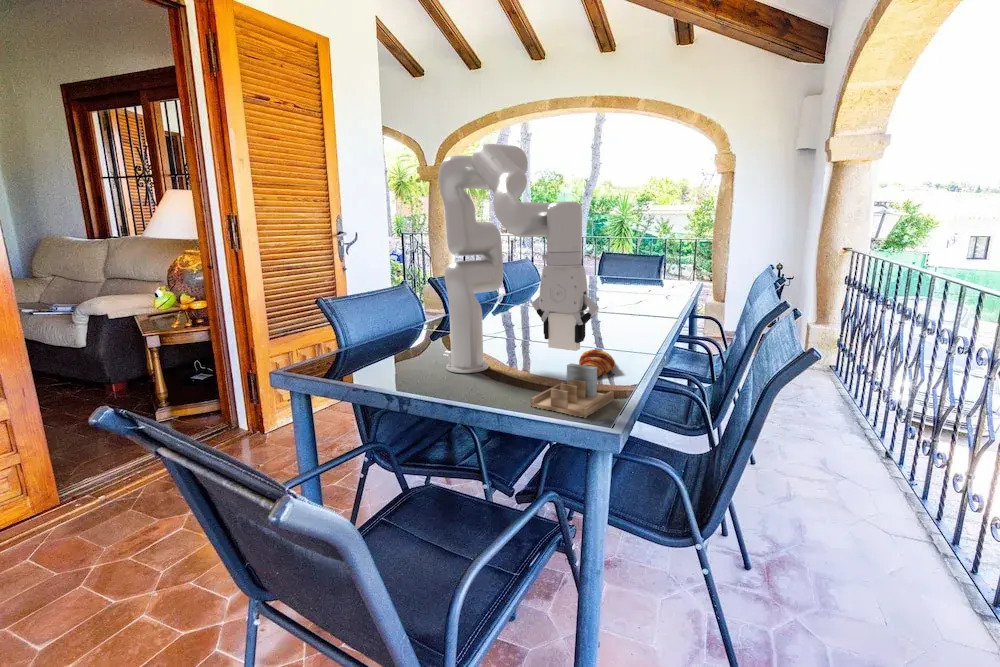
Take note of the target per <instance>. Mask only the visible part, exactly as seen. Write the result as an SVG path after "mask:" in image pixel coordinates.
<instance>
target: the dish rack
mask: <svg viewBox="0 0 1000 667" xmlns="http://www.w3.org/2000/svg"><path fill="white" fill-rule="evenodd" d="M597 382H598V376H597V367H592V366H585V365H579V363H577V364H576V363H571V362H570V363H568V364H566V382H565V381H562V382H559V383H557V384H556V385H554V386H552V387H550V388H548V389H545V391H541V392H540V393H538V394H536V395H534V396H532V397H530V407H531V406H532V407H531V408H534V407H537V408H536V409H539V408H541V409H540V410H543V409H546V410H545V411H548V410H552V411H551V412H553V411H557V412H563V413H567V414H572V415H576V416H582V417H587V416H588V415H590V414H591V413H593V412H595V411H596V412H597V411H599V410H600V409H601V408H604V407H605V406H606V405H608V404H609V403H611V402H613V401H614V398H615V397H614V395H615V391H614V390H610V391H608V392H607V393H601V392H597V391H598V383H597ZM598 409H599V410H598ZM557 412H556V413H557ZM596 412H595V413H596ZM593 414H594V413H593ZM576 416H575V417H576ZM590 416H591V415H590ZM587 418H588V417H587Z"/></svg>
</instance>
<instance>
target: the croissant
mask: <svg viewBox="0 0 1000 667" xmlns="http://www.w3.org/2000/svg"><path fill="white" fill-rule="evenodd" d="M578 362H579V363H578V364H579V365H585V366H592V367H597V377H600V376H603V375H602V374H604V375H606V374H607V373H609V372H611V371H612V370H613V369H614V368H615V367H616V361H615V359H614V358H613V357H612V355H611V354H610V353H608V352H607V351H605V350H601V349H593V348H592V349H590V350H586V351H584V352H583V353H582V354H581V355H580V358H579V360H578Z"/></svg>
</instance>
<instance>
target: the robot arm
mask: <svg viewBox="0 0 1000 667" xmlns="http://www.w3.org/2000/svg"><path fill="white" fill-rule="evenodd" d="M528 165H529V162H528V158H527V155H526V153H525V152H524V150H523V149H521V148H520V147H519V146H516V145H509V144H497V143H487V144H481V145H480V146H479V147H477V148H476V149H475V150H474V152H473V154H472V155H451V156H448V157H447V158H445V159H443V161H442V162H441V164H440V165H439V168H438V172H437V173H438V175H437V180H438V181H437V182H438V189H439V193H440V195H441V198H442V203H443V207H444V219H445V229H446V231H445V232H446V239H447V240H446V243H447V248H448V251H449V252H450V254H452V255H453V256H458V257H459V256H460V257H469V256H480V259H478V260H477V259H476V260H475V259H473V260H471V259H470V260H458V261H455V262H452V263H450V264H449V265H448V266H447V267H446V268H445V271H444V276H443V277H444V285H445V287H446V294H447V298H448V308H449V309H448V312H449V314H448V315H449V332H450V333H449V337H450V338H449V340H450V350H446V351H445V352H444V353H443V354H442V359H446V360H448V362H447V363H446V366H445V367H446V370H447V371H448V372H452V373H456V374H458V373H459V374H472V373H475V374H476V373H479V372H483V371H486V370H488V369H489V366H490V364H489V362H488V361H486V360H484V340H483V339H484V335H483V334H484V332H483V331H484V330H483V309H482V305H481V303H480V302H479V300H478V299H477V297H476V295H475V294H481V293H489V292H495V291H498V290H499V289H500V288H501V287H502V285H503V281H504V263H503V262H504V261H503V260H504V259H503V244H502V237H501V233H500V231H499V230H500V229H499V228H498V227H497V225H495V224H494V223H492V222H489V221H477V220H476V207H475V203H474V202H473V200H472V198H471V196H470V195H469V193H468V192H466V191H465V189H472V190H473V189H475V190H476V189H477V190H478V189H479V190H484V189H485V190H491V191H492V192H493V193H494V195H493V200H492V202H493V204H492V205H493V210H494V214H495V217H496V219H497V221H499V222H500V223H501V225H502V226H503V227H504V228H505V230H506V231H508V232H509V233H510V234H511V235H513V236H515V237H519V238H531V237H532V238H533V237H543V238H545V237H546V253H545V254H543V255H542V257H541V258H542V261H543V262H544V261H545V262H546V266H542V267H543V269H542V272H541V277H540V284H539V295H538V297H537V298H536V299H534V301H532V302H531V306H532V307H533V309H534V310H535V311H536V314H537V315H538V316H539V317H540V321H541V322H543V335H544V340H548V339H549V322H548V316H549V314H550V312H557V313H570V314H573V315H574V317H575V319H576V321H577V325H575V342H576V343H580V344H581V343H582V342H584V341H585V338H586V324H587V323H588V321H590V320H591V319H592V318H593V316H594V315H595V314H596V313H597V312H598V310H599V309H600V307H599V305H597V304H596V303H595V301H594V300H592V299H591V298H590V297H589V295H588V294H589V291H588V280H587V275H586V269H585V266H582V263H583V262H582V261H583V260H582V257H583V256H582V255H583V253H582V251H583V248H582V247H583V243H582V242H583V240H582V239H583V208H582V205H581V204H580V203H579V202H578V201H555V202H541V201H540V202H534V201H533V202H532V201H531V202H526V201H525V202H521V201H520V200H519V198H520V197H521V196H522V195H523V194H524V192H525V191H526V187H527V183H528V180H527V176H526V173H527V171H528ZM587 309H588V311H587ZM585 311H587V312H585Z"/></svg>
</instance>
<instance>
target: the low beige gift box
mask: <svg viewBox="0 0 1000 667" xmlns="http://www.w3.org/2000/svg"><path fill="white" fill-rule="evenodd" d="M548 322H549V339H547V341H548V343H547V346H548V348H552V349H557V350H566V351H575V352H577V351H579V350H581V342H580V343H576V342H575V325H577V321H576V319H575V317H574V315H573V314H570V313H557V312H550V314H549V316H548Z"/></svg>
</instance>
